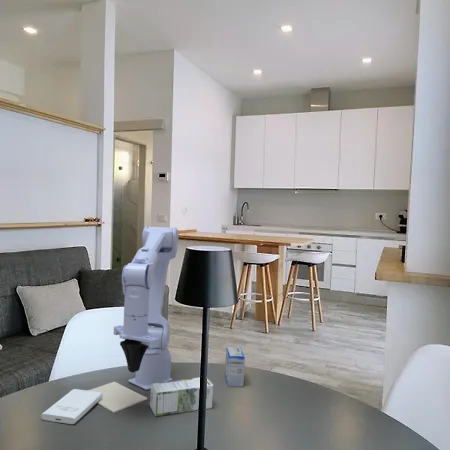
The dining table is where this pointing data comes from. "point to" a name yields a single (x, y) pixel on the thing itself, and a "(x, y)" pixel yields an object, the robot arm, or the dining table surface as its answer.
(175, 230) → the robot arm
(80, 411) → the external hard drive
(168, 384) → the syrup box
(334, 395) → the dining table surface
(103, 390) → the mat
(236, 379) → the medicine box
